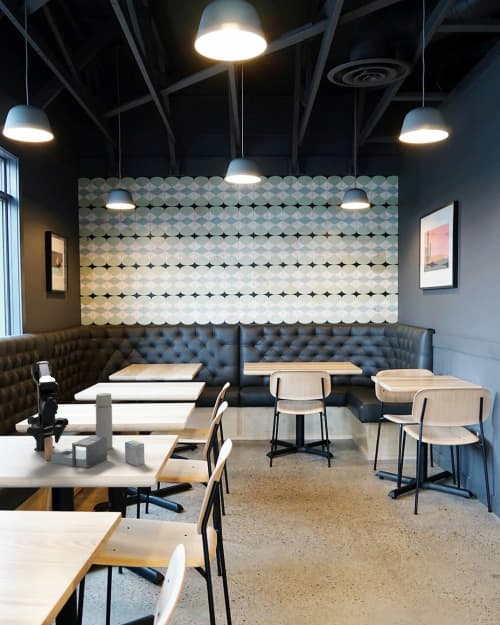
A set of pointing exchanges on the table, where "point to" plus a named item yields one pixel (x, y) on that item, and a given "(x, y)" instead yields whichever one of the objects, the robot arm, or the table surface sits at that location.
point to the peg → (48, 448)
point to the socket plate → (69, 457)
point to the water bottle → (104, 417)
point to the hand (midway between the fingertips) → (48, 445)
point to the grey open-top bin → (91, 450)
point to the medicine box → (134, 453)
